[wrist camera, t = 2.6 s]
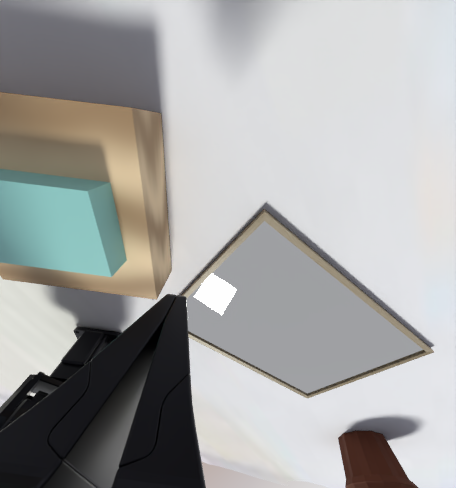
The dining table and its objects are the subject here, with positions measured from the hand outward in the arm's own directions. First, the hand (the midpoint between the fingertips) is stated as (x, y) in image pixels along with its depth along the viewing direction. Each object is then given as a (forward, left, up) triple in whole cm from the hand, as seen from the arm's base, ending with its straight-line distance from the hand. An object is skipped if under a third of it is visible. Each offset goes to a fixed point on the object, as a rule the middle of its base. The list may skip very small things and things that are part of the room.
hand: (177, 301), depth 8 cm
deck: (0, +11, -10) cm, 15 cm away
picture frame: (-14, -11, -11) cm, 21 cm away
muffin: (-45, -34, -10) cm, 58 cm away
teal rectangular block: (0, +10, -6) cm, 12 cm away
